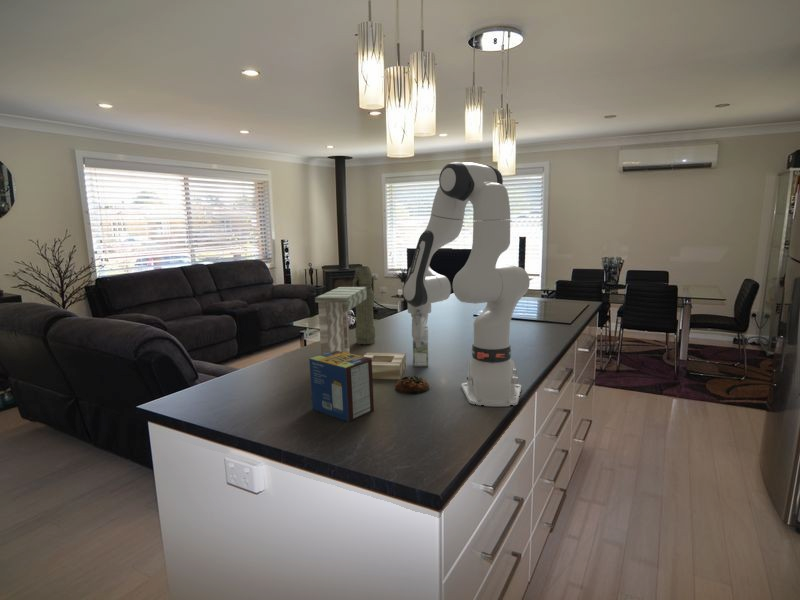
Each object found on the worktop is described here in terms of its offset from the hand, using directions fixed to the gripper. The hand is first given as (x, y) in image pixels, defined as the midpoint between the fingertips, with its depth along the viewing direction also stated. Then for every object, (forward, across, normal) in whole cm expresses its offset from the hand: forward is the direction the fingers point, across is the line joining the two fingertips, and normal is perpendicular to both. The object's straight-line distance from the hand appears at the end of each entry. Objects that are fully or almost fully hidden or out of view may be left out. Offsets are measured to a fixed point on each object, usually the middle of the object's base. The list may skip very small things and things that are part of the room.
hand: (419, 343), depth 170 cm
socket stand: (+8, -11, +18) cm, 23 cm away
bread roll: (+8, -26, 0) cm, 28 cm away
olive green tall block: (+9, +32, +29) cm, 44 cm away
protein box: (+8, -46, +18) cm, 49 cm away
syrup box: (+8, 0, 0) cm, 8 cm away
